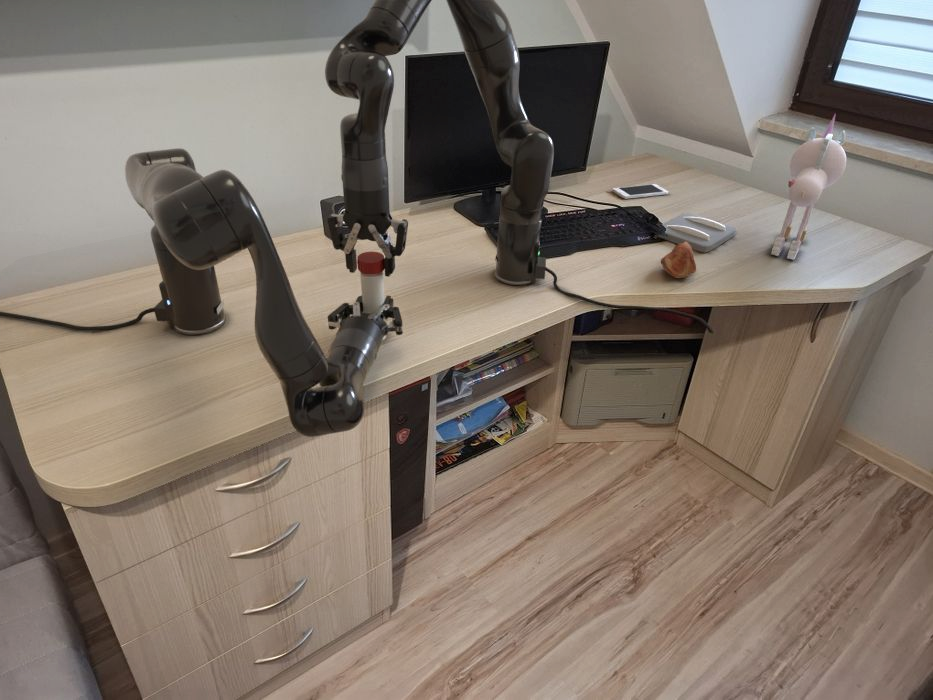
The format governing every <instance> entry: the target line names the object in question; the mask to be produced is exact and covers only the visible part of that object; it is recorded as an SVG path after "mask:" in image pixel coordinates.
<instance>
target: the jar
mask: <svg viewBox="0 0 933 700" xmlns="http://www.w3.org/2000/svg"><path fill="white" fill-rule="evenodd" d="M359 275H360V286H361V289H360V290H361V295H362V304H363V313H373V312H374V311H375V310H376V309H378V308H381V307H382V306H383V303H384V301H385V284H384V283H385V282H384V281H385V280H384V271H382V272H381V273H378V274H372V275H370V274H363V273H361V272H360V271H359ZM386 338H387V335H385V336H384V337H383V339H382V342H383V341H384V340H385V339H386Z"/></svg>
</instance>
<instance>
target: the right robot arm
mask: <svg viewBox="0 0 933 700" xmlns="http://www.w3.org/2000/svg"><path fill="white" fill-rule="evenodd" d="M432 1H433V0H374V1H373V2H372V4H371V6H370V7H369V9H368V11H367V13H366V15H365V17H363V19H362V20H361V21H360V22H358V23H357V24H356V25H354V26H353V27H352V29H350V30H349V31H348V32H347V33H346V34H345V35H344V36H343V37H342V38H341V39H340V40H339V41H338V42H337V43H336V44H335V45H334V47H332V49H331V51H330V53H329V54H328V57H327V59H326V63H325V67H324V78H325V82H326V85H327V87H328V88H329V89H330V91H331V92H333V93H334V94H335V95H337V96H340V97H343V98H347V99H352V100H353V99H354V100H357V101H358V102H359V105H358V110H357V112H355V113H350V114H347V115H345V116H344V117H342V119H341V120H340V124H339V134H340V146H341V147H340V148H341V175H340V178H341V181H342V192H343V193H342V194H343V206H344V213H341V214H340V213H338V212H336V211H335V212H333V213H332V214H330V216H328V218H327V221H326V222H327V224H328V225H327V226H328V229H329V234H330V237H331V242H332V246H333V249H335V250H336V251H339V250H340V251H342V252H343V253H344V255H345V256H344V258H345V267H346V270H349V273H351V274H352V273H353V274H355V273H356V271H357V270H358V262H357V259H358V257H357V249H355V246H356V245H357V242H358V241H359V240H360V241H366V240H368V241H371V242H375V243H376V245H377V246H378V248H379V249H381V251H382V254H383V255H384V264H385V269H384V277H388V278H390V277H391V275H392V274H393V273H394V272H395V270H396V257H401V256H402V254H403V253H404V251H405V249H406V243H407V236H408V229H409V220H408V219H405V218H403V219H402V220H398V219H395V218H393V216H392V215H391V212H390V189H389V187H390V186H389V185H390V184H389V167H388V165H389V164H388V160H387V153H386V152H387V150H386V148H387V146H386V124H387V122H388V121H387V120H388V116H389V112H390V111H389V110H390V107H391V102H392V97H393V94H394V88H395V75H394V70H393V68H392V67H393V66H392V65H391V62H390V60H389V59H388V58H387V57H389V56H394V55H398V54H399V53H400V52H401V51H402V50H403V49H404V47H405V45H406V44H407V42H408V40H409V39H410V37H411V35H412V33H413V32H414V30H415V28H416V27H417V25H418V23H419V22H420V20H421V18H422V16H423V14H424V13H425V11H426V10H427V9H428V7H429V5H430V4H431V2H432ZM446 3H447V6H448V9H449V11H450V13H451V16H452V19H453V22H454V24H455V26H456V30H457V32H458V35H459V39H460V41H461V45H462V48H463V51H464V53H465V57H466V59H467V62H468V65H469V68H470V70H471V72H472V75H473V77H474V80H475V83H476V86H477V88H478V91H479V94H480V96H481V99H482V101H483V103H484V106H485V108H486V112H487V115H488V118H489V122H490V127H491V130H492V131H491V132H492V134H493V139H494V143H495V148H496V151H497V154H498V156H499V158H500V160H501V161H502V162H503V163H504V165H506V166H507V167H509V168H511V174H510V175H511V176H510V181H509V182H510V183H509V184H508V185H506V186H504V187H503V188H502V189H501V191H500V198H499V211H498V228H497V244H496V255H495V258H494V262H495V270H494V277H495V278H496V280H498V281H499V282H502V283H503V284H508V285H510V286H525V285H530V284H537V280H545V279H546V278H545V277H546V272H547V273H549V275H551V276H552V277H553V282H552V284H553V287H554V288H555V290H556V291H557V292H559V293H560V294H563V295H565V296H567V297H570V298H574V299H575V298H576V299H578V300H581V301H584V302H587V303H590V304H593V305H596V306H600V307H604V308H611V309H618V310H641V311H651V312H662V313H670V314H673V315H678V316H681V317H685V318H689V319H692V320H694V321H697V322H699V323H700V324H702V326H703V327H705V328H706V330H707V331H708V332H709V333H710V334H714V331H713V329H712V327H711V325H709V323H707V322H706V321H705V319H703V318H702V317H699V316H696V315H694V314H691V313H686V312H682V311H680V310H675V309H671V308H665V307H656V306H655V307H654V306H643V305H624V304H623V305H621V304H611V303H606V302H601V301H598V300H594V299H591V298H587V297H585V296H582V295H580V294H576V293H571V292H568V291H565V290H563V289H561V288H560V287H559V285H558V284H557V283H558V276H557V274H556V273H555V271H553V270H551V269H550V268H548V267H547V257H544V256H540V246H541V244H540V243H541V231H542V222H543V221H542V220H543V213H544V212H543V211H544V201H545V198H546V197H547V195H548V192H549V189H550V184H551V178H552V172H553V166H554V156H555V148H554V142H553V139H552V137H551V136H550V135H549V134H548V133H547V132H545V131H544V130H542V129H540V128H538V127H536V126H534V125H532V124H531V122H530V120H529V118H528V116H527V113H526V110H525V108H524V106H523V102H522V99H521V95H520V88H519V84H520V83H519V81H520V67H521V66H520V65H521V64H520V63H521V62H520V53H519V48H518V45H517V42H516V39H515V35H514V33H513V29H512V26H511V23H510V20H509V18H508V16H507V14H506V13H505V11H504V10H503V9H502V7H501V6H500V5H499V3H498V2H497V1H496V0H446ZM344 224H345V226H346V227H347V228H348V229H349V230H350V233H349V236H348V237H347V240H345V236H344V232H343V227H342V226H343V225H344ZM390 227H392V229H393V232H394V234H396V238H395V246H394V244H393V242H392V241H391V240H392V238H391V235H390V233H389V232H388V230H389V228H390Z"/></svg>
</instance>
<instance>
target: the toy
mask: <svg viewBox="0 0 933 700" xmlns="http://www.w3.org/2000/svg"><path fill="white" fill-rule="evenodd" d="M836 116H837V115H836V112H835V113H834V115H833V116H832V119H831V120H830V122H829V124H828V126H827V128H826V130H825V131H824V133H823V134H822V136H821V137H817V138H816V136H817V128H815V127H810V129H809V130H808V133H807V135H806V136H805V142H804V143H802V144H801V145H800V146H798V148H797V149H796V150H795V151H794V152H793V154H792V156H791V159H790V162H789V173H790V175H791V178H792V180H789V181H788V188H789V189H788V198H789V201H790V202H789V205H788V209H787V212H786V215H785V218H784V221H783V223H782V227H781V230H780V233H779V235H777V236H776V239H775V241H774V243H773V246H772V249H771V253H770V255H772V256H776V257H779V255H780V253H781V252H782V249H783V248H784V246H785V242H786V240H789V238H790V234H791V232H792V227H793V225H792V223H793V219H794V217H795V213H796V211H797V208H798V207H801V208H802V207H804V208H805V210H804V213H803V216H802V219H801V222H800V225H799V227H798V230H797V233H796V237H795V239H793V240H792V242H791V245H790V247H789V250H788V253H787V256H786V259H788V260H792V261H794V260H795V259H796V257H797V255H798V253H799V251H800V249H801V245H802V244H803V243H804V240H805V238H806V235H807V231H808V228H807V227H808V224H809V221H810V218H811V215H812V212H813V209H814V207H815V204H816V202H817V201H818V200H819V199H820V197H821V195H822V193H823V191H824V189H827V188H828V187H831V186H832V185H834V184H835V183H836V182H837V181H838V180H840V178H841V177H842V176H843V174H844V173H845V170H846V168H847V167H846V166H847V154H846V152H845V150H844V148H843V145H844V143H845V141H846V140H847V134H846V131H845V130H840V131H839V132H838V133H837V135H836V137H835V139H833V129H834V125H835V120H836ZM841 135H842V138H841V141H840V137H841Z"/></svg>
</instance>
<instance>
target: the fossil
mask: <svg viewBox="0 0 933 700" xmlns="http://www.w3.org/2000/svg"><path fill="white" fill-rule="evenodd" d="M660 264H661V265H662V267H663V269H664V270H665V272H667V274H669V275H671V277H673V278H675V279H684V278H687V277H689V276H690V275H693V274H695V272H697V264H696V260H695V257H694V252H693V249H692V248H691V246H690V245H689V243H688V242H687V241H685V242H684V243H681V244H676V245H675V246H674V247H673V248H672V250H671V251H670V252H668V253H667V254H666V255H664V256H663V257H662V258H661V259H660Z"/></svg>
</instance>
